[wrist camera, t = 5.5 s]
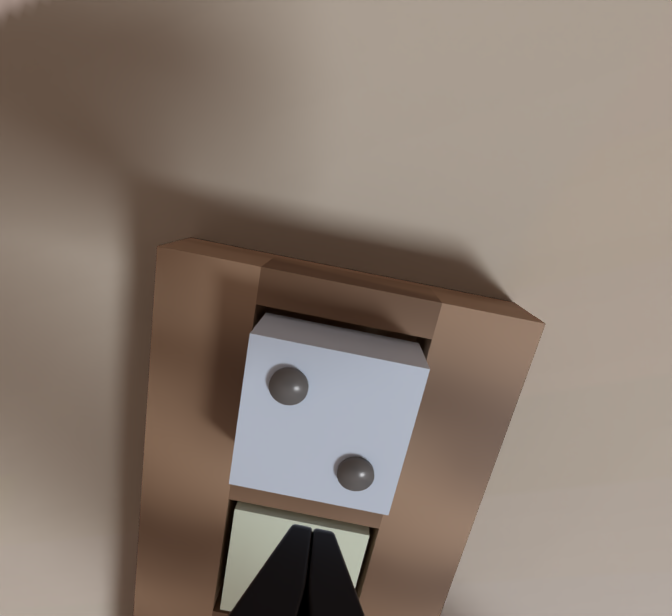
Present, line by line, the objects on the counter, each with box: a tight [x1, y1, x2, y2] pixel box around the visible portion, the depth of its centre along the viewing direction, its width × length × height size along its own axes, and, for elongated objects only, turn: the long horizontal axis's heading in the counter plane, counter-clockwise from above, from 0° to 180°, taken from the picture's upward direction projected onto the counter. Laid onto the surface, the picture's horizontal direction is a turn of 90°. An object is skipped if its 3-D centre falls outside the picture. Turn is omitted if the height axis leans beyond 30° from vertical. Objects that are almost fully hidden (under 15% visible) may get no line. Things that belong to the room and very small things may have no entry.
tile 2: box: [229, 313, 430, 515], centre depth 12 cm, size 5×5×2 cm
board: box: [133, 238, 545, 616], centre depth 16 cm, size 23×12×2 cm, turn 169°
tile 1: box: [220, 501, 369, 611], centre depth 16 cm, size 5×5×2 cm
